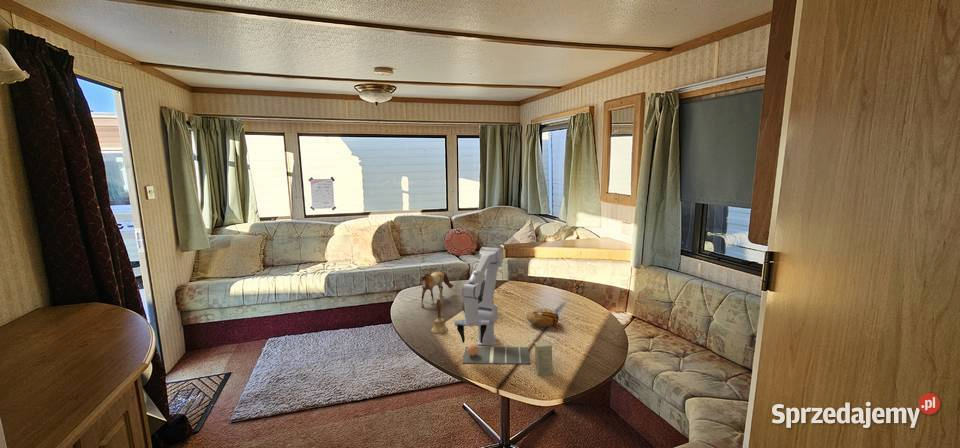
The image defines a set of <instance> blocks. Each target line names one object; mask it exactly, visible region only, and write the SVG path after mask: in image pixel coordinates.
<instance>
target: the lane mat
mask: <svg viewBox="0 0 960 448" xmlns="http://www.w3.org/2000/svg"><path fill="white" fill-rule="evenodd" d="M467 348H468V346H465V349H464V353H463V358H462V362H461V364H466V365H470V364H471V365H531V362H530V361H531V360H530V359H531V358H530V352H529V350H530V349H529V346H478V349H479V352H478V354H477V355H476V356H470V355H469V354H468V352H467Z"/></svg>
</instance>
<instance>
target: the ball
mask: <svg viewBox="0 0 960 448" xmlns="http://www.w3.org/2000/svg"><path fill="white" fill-rule="evenodd" d="M467 347H468V348H467V352H468V354H469V355H470V356H476V355H477V354H478V352H479V349H478V347H479V345H476V344H475V343H471V344H469V345H468V346H467Z"/></svg>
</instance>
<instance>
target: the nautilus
mask: <svg viewBox="0 0 960 448" xmlns="http://www.w3.org/2000/svg"><path fill="white" fill-rule="evenodd" d="M559 317H560V316H559V315H558V313H557V312H556V311H554V310H553V309H550V308H546V307H543V308H542V307H541V308H535V309H533V310H530V311H528V312H526V316H525V318H526V320H527V321H528V322H529V323H532V324H534V325H535V326H537V327H545V328H546V327H552V328H555V333H557V331H558V330H561V331H564V329H563V326H562V325H564V324H563V322H562V319H561V318H559Z"/></svg>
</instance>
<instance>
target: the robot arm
mask: <svg viewBox="0 0 960 448" xmlns="http://www.w3.org/2000/svg"><path fill="white" fill-rule="evenodd" d="M478 255H479V261H478V263H477V267H476V269H475V270H473V271H472V273H471V274H470V277H469V278H468V280H467V283H464V284H463V285H462V287H461V296H462V301H464V303H465V311H464V319H457V320H454V327H456V329H457V331H458V332H457V333H459V335H460V338H461V341H462V343H465V342H466V341H465V326H466V327H470V328H471V327H472V328H473V327H478V328H477V329H478V333H477V334H478V338H477V346H495V345H496V335H495V324H496V323H497V322H498V316H499V315H498V306H496V305H495V304H494V297H495V289H496V282H497V276H498V270H499V268H500V267H501V266H502V262H503V258H504V257H503V256H504V253H503V250H502V248H501V247H488V246H487V247H486V246H482V247H481V248H480V249H479V252H478ZM485 272H486V273H485ZM485 274H486V275H485ZM484 279H485V281H484ZM483 281H484V282H485V287H484V293H483V299H482V302H481V303H479V304H478V297H479V295H480V290H481V284H482V282H483ZM483 308H487V309H492V310H487V309H483Z"/></svg>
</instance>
